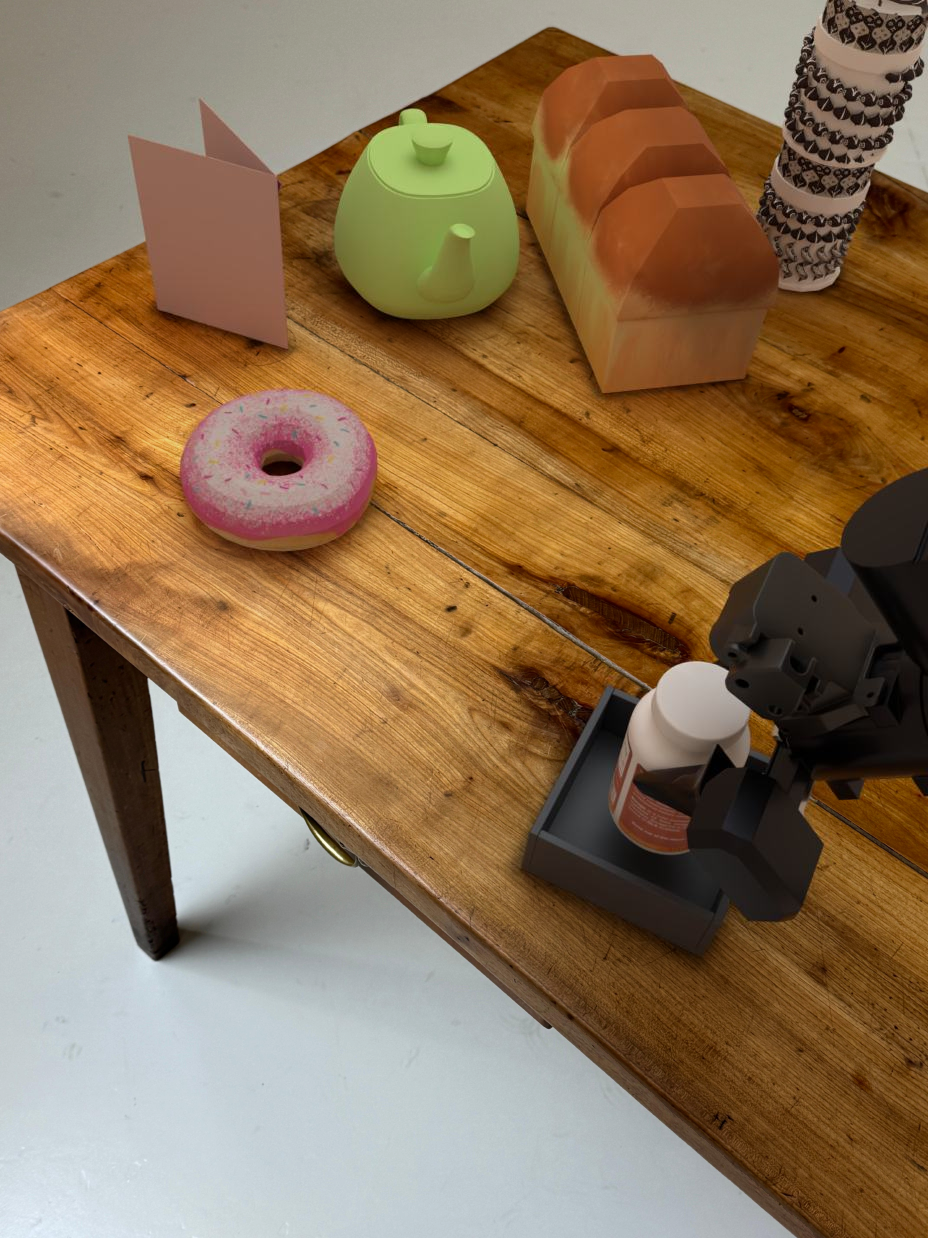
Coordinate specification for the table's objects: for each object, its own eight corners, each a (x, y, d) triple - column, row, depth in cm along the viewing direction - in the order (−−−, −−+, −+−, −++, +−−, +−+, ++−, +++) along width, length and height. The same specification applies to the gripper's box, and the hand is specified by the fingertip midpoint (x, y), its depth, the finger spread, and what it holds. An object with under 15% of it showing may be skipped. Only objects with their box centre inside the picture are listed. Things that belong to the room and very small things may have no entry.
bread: (750, 381, 93) (805, 219, 81) (600, 397, 91) (634, 232, 79) (652, 197, 108) (688, 36, 96) (521, 207, 105) (540, 43, 94)
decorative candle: (831, 231, 106) (939, -63, 86) (854, 296, 101) (975, -1, 81) (732, 226, 106) (817, -70, 86) (750, 292, 100) (845, -9, 80)
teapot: (547, 368, 93) (570, 224, 82) (358, 385, 90) (357, 238, 80) (486, 203, 105) (500, 60, 95) (319, 214, 103) (314, 68, 92)
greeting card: (298, 345, 92) (288, 172, 80) (212, 377, 89) (189, 203, 77) (229, 266, 98) (210, 93, 86) (146, 294, 95) (114, 119, 83)
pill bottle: (737, 835, 65) (793, 729, 56) (641, 875, 63) (683, 772, 55) (679, 745, 68) (724, 632, 60) (586, 781, 67) (618, 670, 58)
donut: (193, 578, 78) (184, 528, 74) (177, 436, 85) (167, 384, 81) (394, 552, 80) (395, 502, 76) (360, 417, 88) (360, 365, 84)
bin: (763, 801, 71) (784, 763, 67) (701, 958, 64) (720, 925, 61) (595, 724, 73) (607, 684, 69) (520, 868, 67) (529, 832, 63)
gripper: (922, 426, 52) (644, 505, 63) (797, 747, 41) (491, 772, 53) (1023, 606, 56) (747, 649, 67) (933, 937, 46) (624, 922, 57)
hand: (660, 735), depth 61 cm, fingers closed on pill bottle, 6 cm apart
